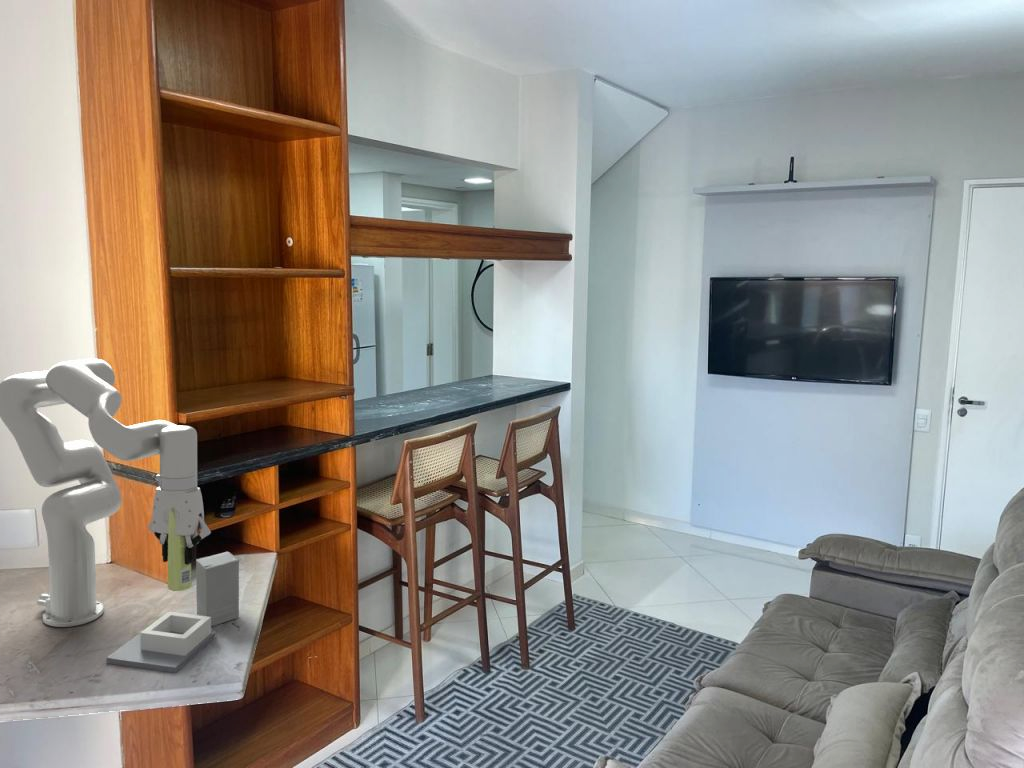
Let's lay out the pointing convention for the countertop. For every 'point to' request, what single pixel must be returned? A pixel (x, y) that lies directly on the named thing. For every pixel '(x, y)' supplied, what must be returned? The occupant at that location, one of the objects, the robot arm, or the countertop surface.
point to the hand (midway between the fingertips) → (179, 560)
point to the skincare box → (218, 587)
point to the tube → (177, 559)
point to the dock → (166, 643)
